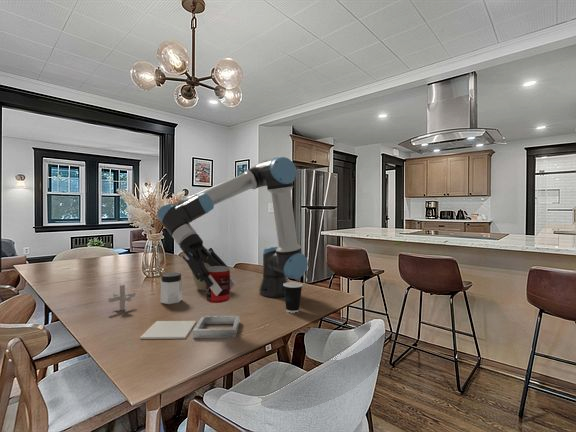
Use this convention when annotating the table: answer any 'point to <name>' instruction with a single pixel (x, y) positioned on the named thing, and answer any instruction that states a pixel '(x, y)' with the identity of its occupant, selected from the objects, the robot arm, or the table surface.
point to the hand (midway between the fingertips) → (226, 289)
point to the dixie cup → (292, 296)
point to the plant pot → (198, 283)
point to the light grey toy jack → (122, 297)
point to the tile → (169, 330)
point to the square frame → (216, 333)
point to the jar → (171, 288)
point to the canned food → (223, 280)
